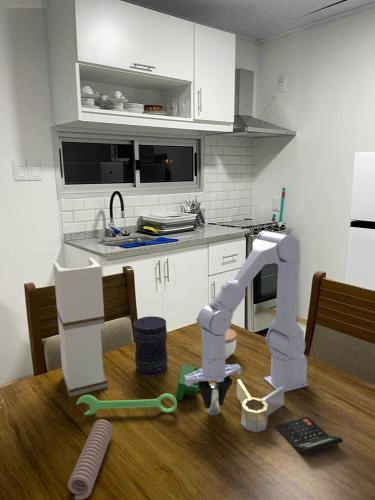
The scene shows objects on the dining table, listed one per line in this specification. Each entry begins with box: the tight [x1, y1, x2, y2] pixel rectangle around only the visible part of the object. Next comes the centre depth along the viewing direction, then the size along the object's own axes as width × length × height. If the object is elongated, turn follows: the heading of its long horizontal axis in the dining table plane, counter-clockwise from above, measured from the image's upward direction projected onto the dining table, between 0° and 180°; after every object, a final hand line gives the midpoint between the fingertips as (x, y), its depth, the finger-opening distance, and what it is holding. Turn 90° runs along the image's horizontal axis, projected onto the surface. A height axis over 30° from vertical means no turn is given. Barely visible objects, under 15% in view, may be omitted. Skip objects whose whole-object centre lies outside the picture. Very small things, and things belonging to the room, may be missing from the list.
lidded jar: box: [225, 327, 238, 360], centre depth 125 cm, size 11×11×9 cm
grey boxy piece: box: [52, 257, 109, 398], centre depth 107 cm, size 11×11×35 cm
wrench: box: [76, 393, 178, 416], centre depth 96 cm, size 25×2×5 cm, turn 92°
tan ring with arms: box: [236, 378, 285, 433], centre depth 97 cm, size 14×14×5 cm
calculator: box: [274, 416, 343, 454], centre depth 87 cm, size 9×12×3 cm
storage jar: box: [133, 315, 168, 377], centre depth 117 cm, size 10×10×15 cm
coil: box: [67, 419, 114, 500], centre depth 79 cm, size 5×5×18 cm
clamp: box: [174, 363, 200, 401], centre depth 105 cm, size 11×6×8 cm, turn 171°
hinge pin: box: [206, 382, 220, 416], centre depth 96 cm, size 3×3×7 cm
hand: (213, 404), depth 96 cm, fingers closed on hinge pin, 3 cm apart
